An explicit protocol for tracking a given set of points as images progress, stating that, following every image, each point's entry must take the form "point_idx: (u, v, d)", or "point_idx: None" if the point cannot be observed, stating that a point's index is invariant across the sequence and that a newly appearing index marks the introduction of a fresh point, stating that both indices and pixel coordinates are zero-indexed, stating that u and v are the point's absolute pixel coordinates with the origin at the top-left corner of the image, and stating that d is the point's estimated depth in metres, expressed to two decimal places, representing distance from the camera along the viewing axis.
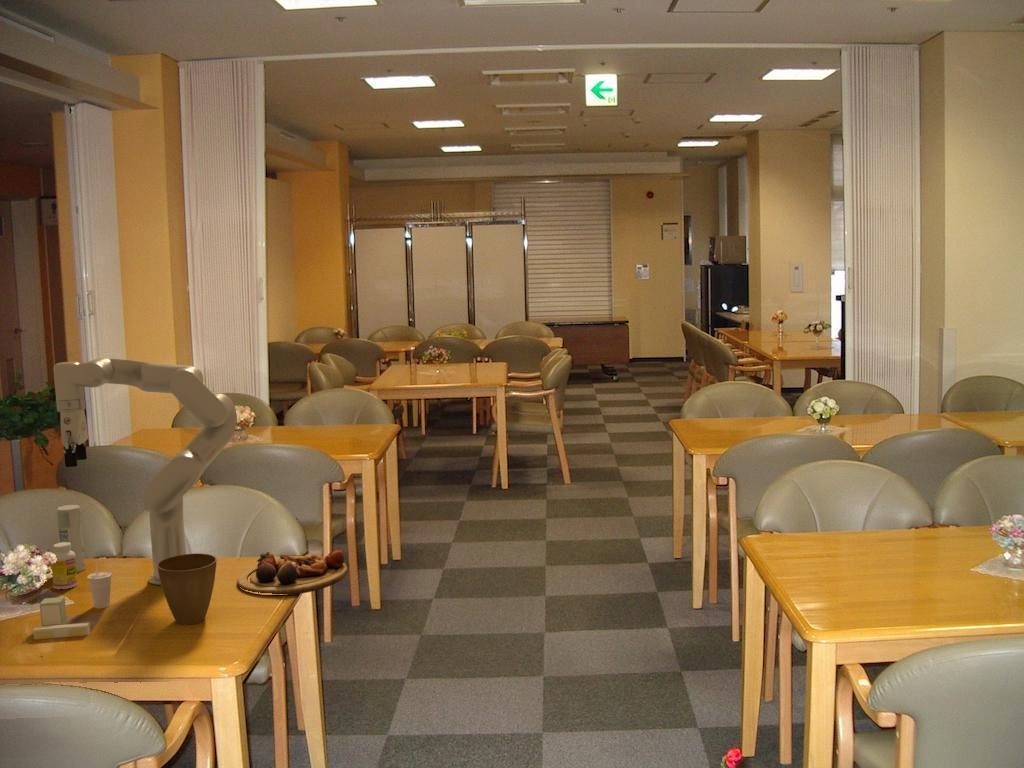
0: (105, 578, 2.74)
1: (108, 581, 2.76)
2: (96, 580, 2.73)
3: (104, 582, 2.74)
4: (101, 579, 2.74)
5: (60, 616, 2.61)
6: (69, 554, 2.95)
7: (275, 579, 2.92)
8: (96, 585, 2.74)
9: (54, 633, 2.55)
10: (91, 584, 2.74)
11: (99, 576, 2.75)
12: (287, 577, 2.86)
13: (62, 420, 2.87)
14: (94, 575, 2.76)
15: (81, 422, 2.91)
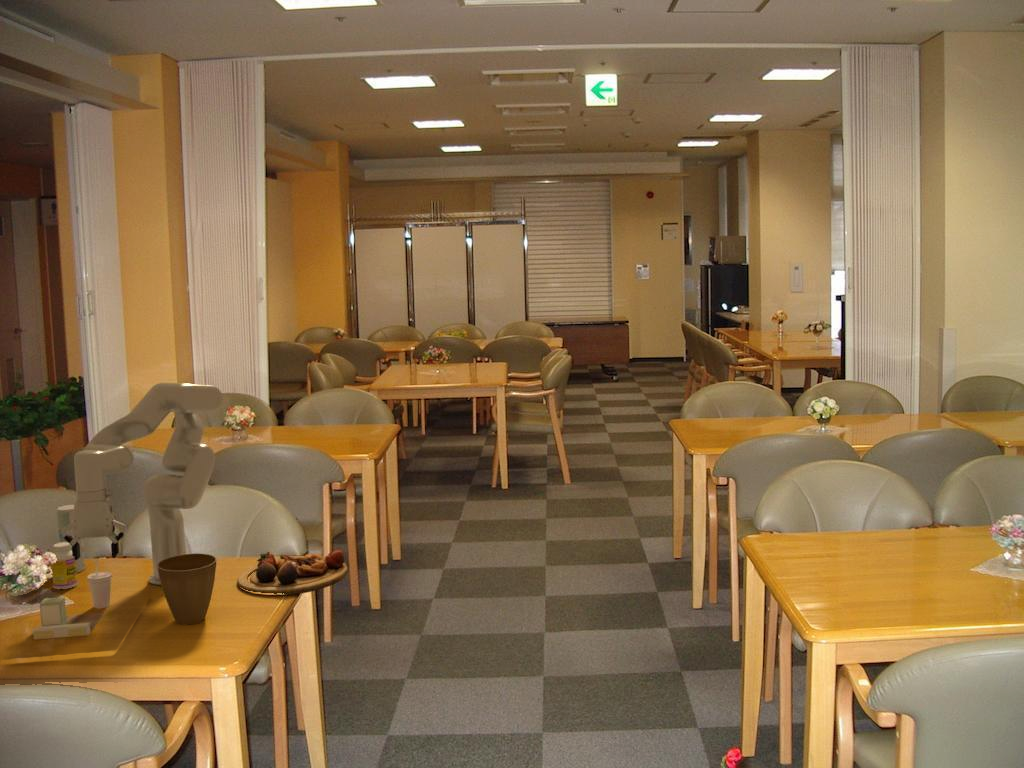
0: (105, 578, 2.74)
1: (108, 581, 2.76)
2: (96, 580, 2.73)
3: (104, 582, 2.74)
4: (101, 579, 2.74)
5: (60, 616, 2.61)
6: (69, 554, 2.95)
7: (276, 579, 2.92)
8: (96, 585, 2.74)
9: (54, 633, 2.55)
10: (91, 584, 2.74)
11: (99, 576, 2.75)
12: (287, 577, 2.86)
13: (109, 509, 2.73)
14: (94, 575, 2.76)
15: None
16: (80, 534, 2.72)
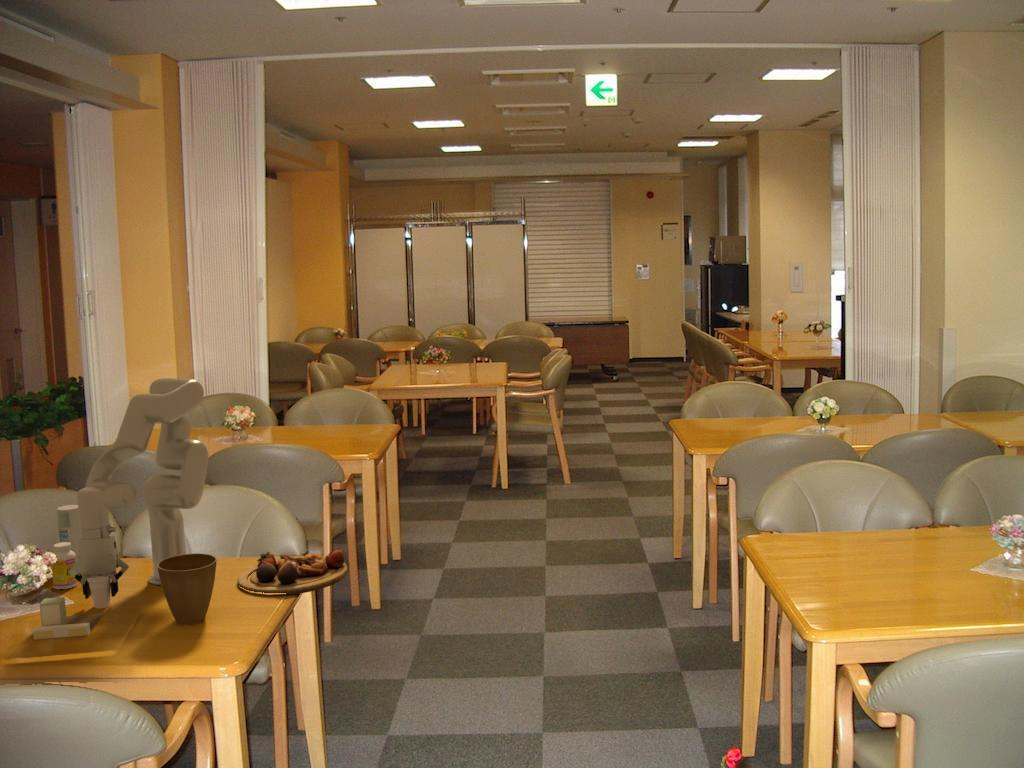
0: (105, 578, 2.74)
1: (108, 581, 2.76)
2: (96, 580, 2.73)
3: (104, 582, 2.74)
4: (101, 579, 2.74)
5: (60, 616, 2.61)
6: (69, 554, 2.95)
7: (276, 579, 2.93)
8: (96, 585, 2.74)
9: (54, 633, 2.55)
10: (91, 584, 2.74)
11: (99, 576, 2.75)
12: (287, 577, 2.86)
13: (113, 545, 2.74)
14: (94, 575, 2.76)
15: None
16: (85, 570, 2.73)
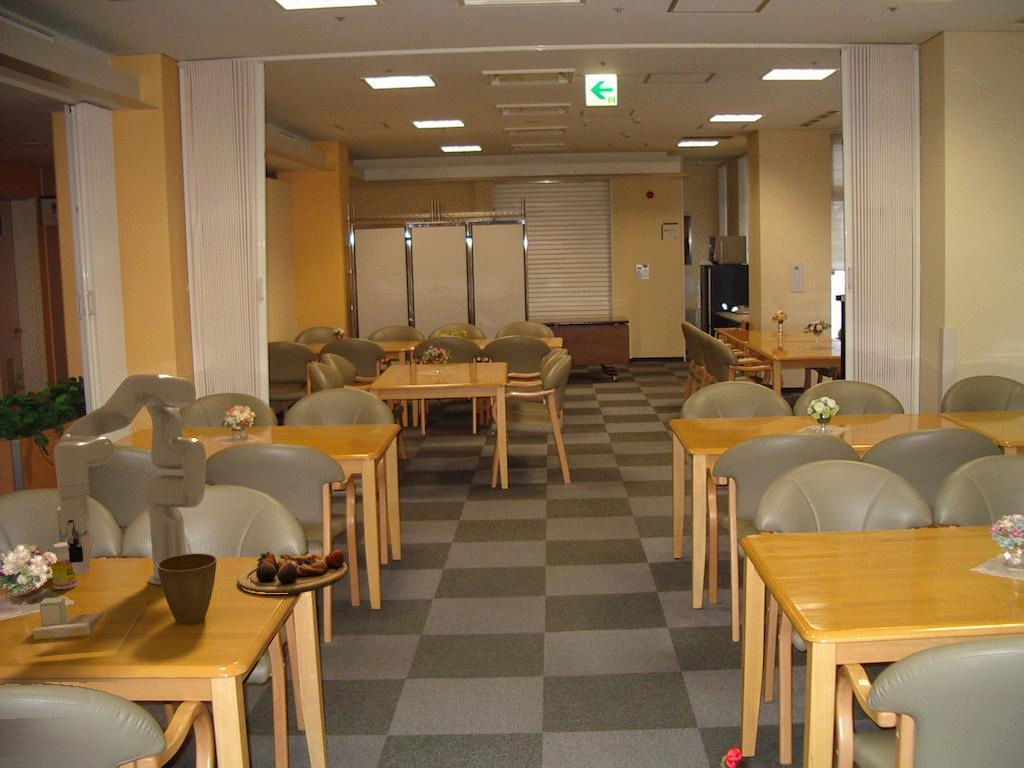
0: None
1: None
2: (90, 536, 2.61)
3: None
4: (90, 534, 2.62)
5: (60, 616, 2.61)
6: None
7: (276, 579, 2.93)
8: (89, 542, 2.61)
9: (54, 633, 2.55)
10: (86, 543, 2.59)
11: (83, 534, 2.61)
12: (287, 577, 2.86)
13: None
14: None
15: None
16: (82, 530, 2.57)
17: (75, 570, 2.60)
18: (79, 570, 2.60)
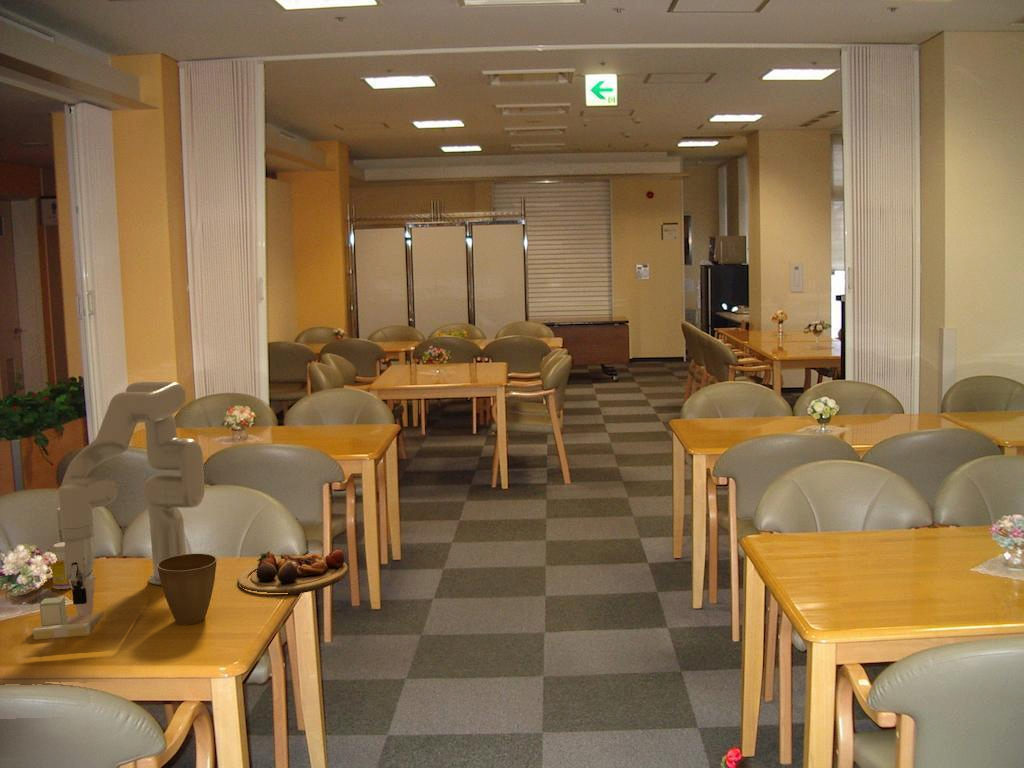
0: None
1: None
2: (94, 578, 2.62)
3: None
4: (94, 576, 2.63)
5: (60, 616, 2.61)
6: None
7: (276, 579, 2.93)
8: (93, 583, 2.62)
9: (54, 633, 2.55)
10: (89, 585, 2.61)
11: (86, 576, 2.62)
12: (287, 577, 2.87)
13: None
14: None
15: None
16: (86, 572, 2.59)
17: (79, 611, 2.61)
18: (83, 611, 2.61)
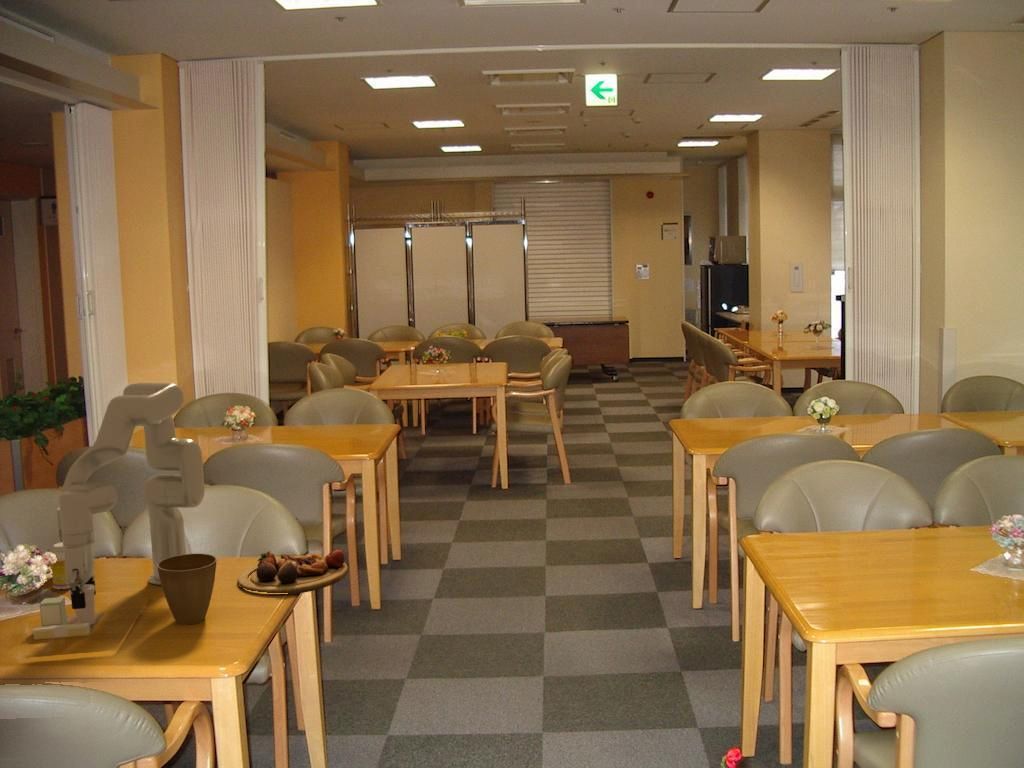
0: None
1: None
2: (94, 588, 2.63)
3: None
4: None
5: (60, 616, 2.61)
6: None
7: (276, 579, 2.93)
8: (93, 594, 2.63)
9: (54, 633, 2.55)
10: (89, 595, 2.61)
11: (86, 587, 2.63)
12: (287, 577, 2.87)
13: None
14: None
15: None
16: (87, 578, 2.59)
17: None
18: (84, 622, 2.62)
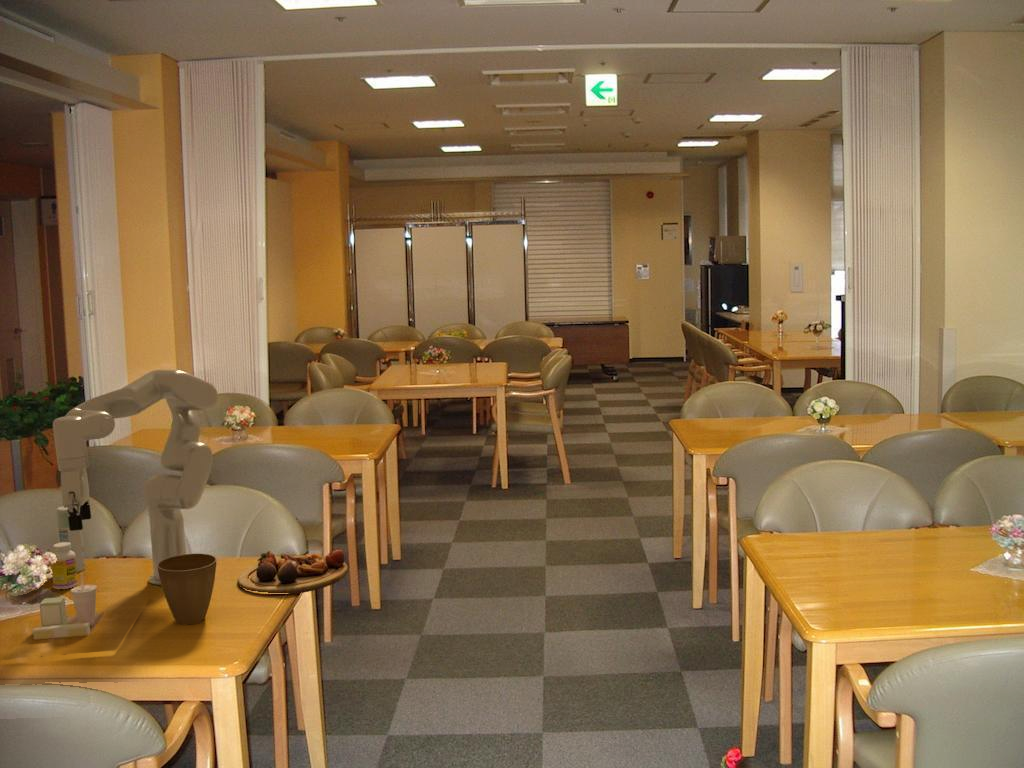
0: None
1: None
2: (96, 589, 2.63)
3: None
4: None
5: (60, 616, 2.61)
6: (69, 554, 2.95)
7: (276, 579, 2.93)
8: (95, 595, 2.63)
9: (54, 633, 2.55)
10: (91, 596, 2.61)
11: (88, 587, 2.63)
12: (287, 577, 2.87)
13: None
14: (83, 589, 2.61)
15: None
16: (83, 500, 2.68)
17: None
18: None
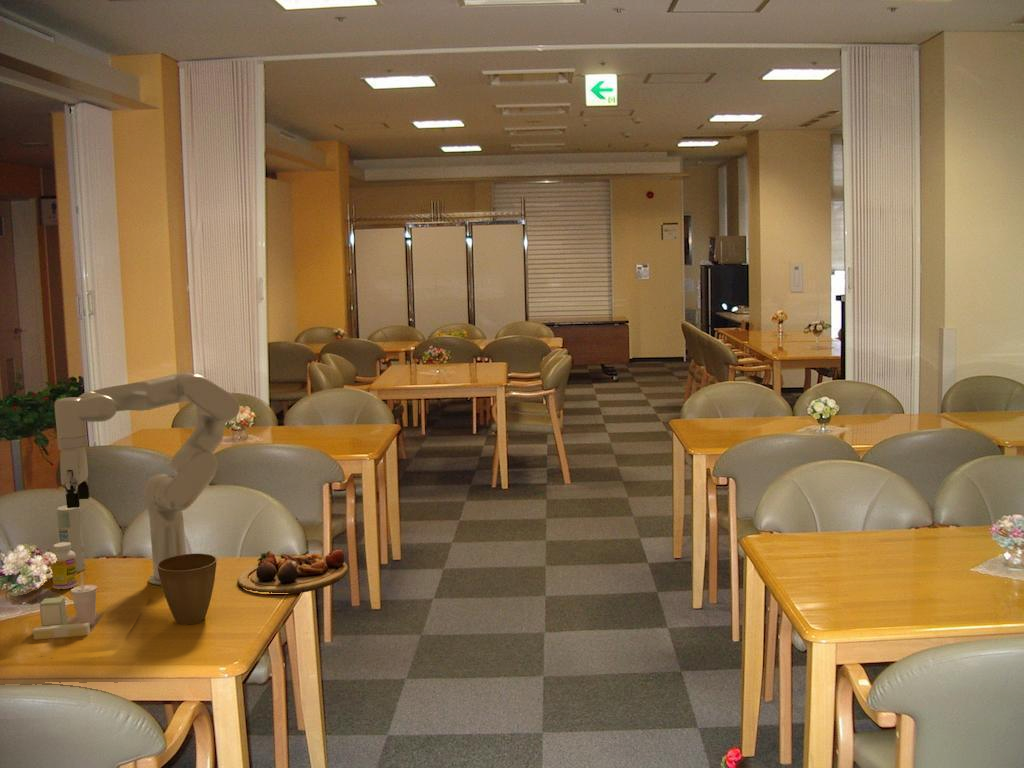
0: None
1: None
2: (96, 589, 2.63)
3: None
4: None
5: (60, 616, 2.61)
6: (69, 554, 2.95)
7: (276, 579, 2.93)
8: (95, 595, 2.63)
9: (54, 633, 2.55)
10: (91, 596, 2.61)
11: (88, 587, 2.63)
12: (287, 577, 2.87)
13: None
14: (83, 589, 2.61)
15: None
16: (81, 479, 2.77)
17: None
18: None
